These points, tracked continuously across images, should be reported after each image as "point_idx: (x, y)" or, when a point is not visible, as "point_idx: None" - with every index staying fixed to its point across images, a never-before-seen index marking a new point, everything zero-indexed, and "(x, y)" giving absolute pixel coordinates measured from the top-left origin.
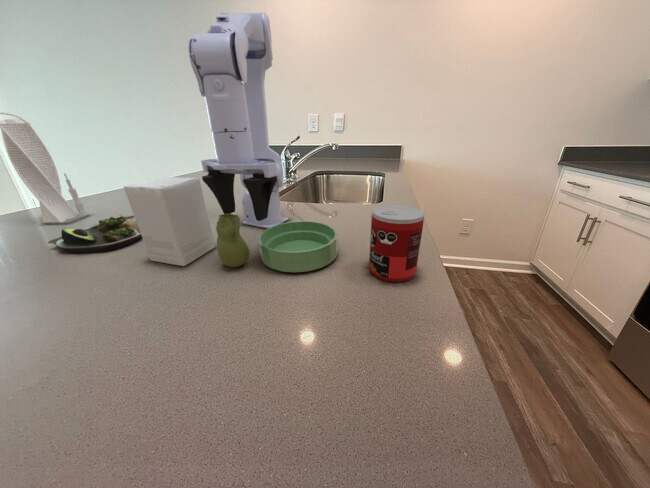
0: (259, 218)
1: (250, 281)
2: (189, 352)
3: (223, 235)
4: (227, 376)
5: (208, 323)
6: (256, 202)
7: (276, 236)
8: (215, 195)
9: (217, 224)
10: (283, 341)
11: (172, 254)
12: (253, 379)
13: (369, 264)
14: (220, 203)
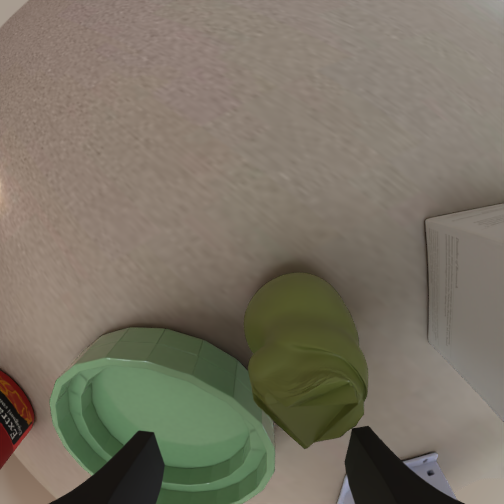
0: (132, 437)
1: (180, 258)
2: (115, 34)
3: (293, 326)
4: (38, 58)
5: (141, 88)
6: (88, 483)
7: (254, 448)
8: (418, 484)
9: (339, 354)
10: (8, 150)
11: (469, 217)
12: (11, 80)
13: (16, 397)
14: (385, 460)
